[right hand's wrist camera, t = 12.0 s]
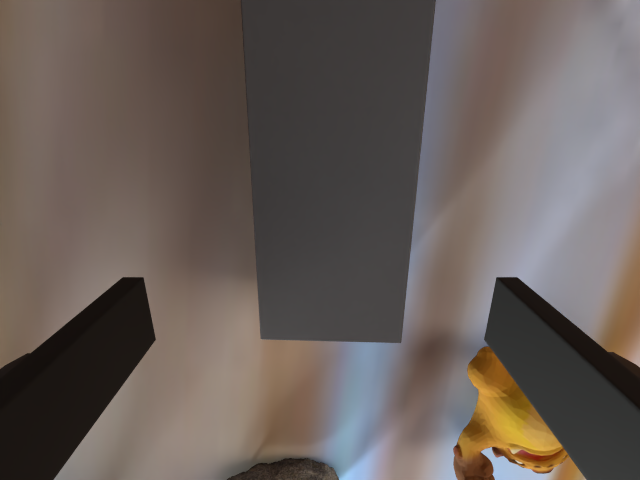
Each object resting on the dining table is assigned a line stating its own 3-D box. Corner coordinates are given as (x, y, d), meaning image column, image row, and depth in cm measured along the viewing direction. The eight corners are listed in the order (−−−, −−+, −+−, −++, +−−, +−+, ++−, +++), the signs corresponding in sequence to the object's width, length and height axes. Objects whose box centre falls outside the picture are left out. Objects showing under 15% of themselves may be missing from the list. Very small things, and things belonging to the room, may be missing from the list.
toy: (653, 361, 25) (572, 506, 29) (568, 314, 31) (511, 442, 35) (547, 375, 21) (472, 540, 25) (472, 318, 27) (421, 461, 31)
